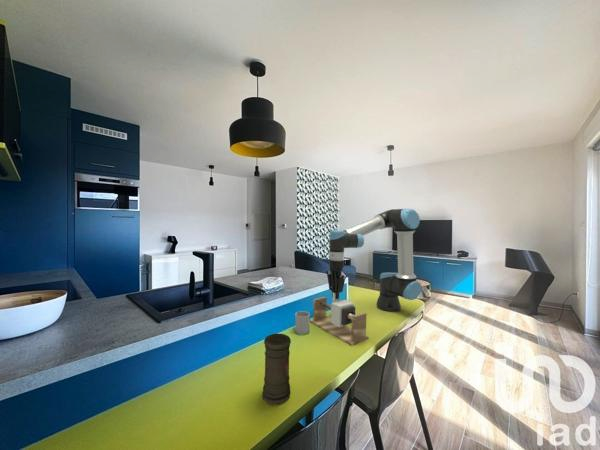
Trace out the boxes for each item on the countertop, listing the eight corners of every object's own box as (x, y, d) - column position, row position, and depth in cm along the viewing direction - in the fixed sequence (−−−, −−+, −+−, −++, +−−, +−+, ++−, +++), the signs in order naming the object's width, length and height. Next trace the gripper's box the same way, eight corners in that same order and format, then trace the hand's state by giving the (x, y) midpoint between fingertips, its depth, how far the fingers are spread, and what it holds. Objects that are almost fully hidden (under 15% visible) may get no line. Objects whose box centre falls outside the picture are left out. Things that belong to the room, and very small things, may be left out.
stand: (310, 322, 134) (310, 299, 133) (326, 317, 141) (326, 296, 140) (351, 345, 109) (352, 318, 109) (368, 338, 116) (369, 312, 116)
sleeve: (330, 322, 122) (331, 303, 121) (344, 318, 127) (345, 299, 127) (339, 327, 117) (340, 306, 117) (353, 322, 123) (354, 302, 122)
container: (266, 408, 72) (268, 348, 71) (259, 389, 80) (260, 335, 80) (294, 400, 75) (296, 343, 75) (284, 382, 83) (286, 330, 83)
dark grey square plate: (341, 324, 117) (341, 308, 117) (352, 320, 122) (352, 305, 122) (344, 325, 116) (344, 309, 116) (355, 322, 120) (355, 306, 120)
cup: (299, 335, 118) (299, 317, 117) (290, 327, 126) (290, 310, 126) (312, 333, 121) (312, 315, 121) (302, 325, 130) (302, 308, 130)
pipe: (318, 305, 135) (318, 300, 135) (321, 304, 137) (322, 299, 137) (356, 323, 113) (357, 317, 113) (361, 322, 114) (361, 316, 114)
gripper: (322, 258, 129) (321, 302, 129) (340, 262, 118) (339, 309, 119) (332, 257, 133) (331, 299, 134) (350, 260, 123) (349, 307, 123)
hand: (335, 304), depth 126 cm, fingers closed
